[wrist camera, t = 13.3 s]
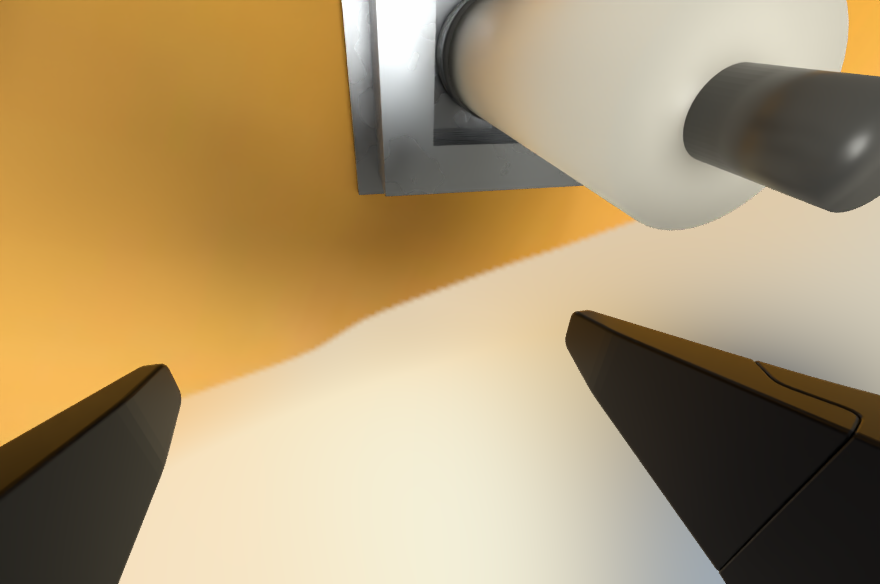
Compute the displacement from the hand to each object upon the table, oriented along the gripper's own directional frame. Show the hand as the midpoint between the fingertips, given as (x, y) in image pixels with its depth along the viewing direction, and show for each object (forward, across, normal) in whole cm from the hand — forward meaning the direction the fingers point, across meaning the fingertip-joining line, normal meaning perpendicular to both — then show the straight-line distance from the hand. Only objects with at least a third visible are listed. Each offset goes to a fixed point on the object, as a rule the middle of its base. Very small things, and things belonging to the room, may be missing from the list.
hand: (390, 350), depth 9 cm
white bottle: (+12, +6, +5) cm, 15 cm away
